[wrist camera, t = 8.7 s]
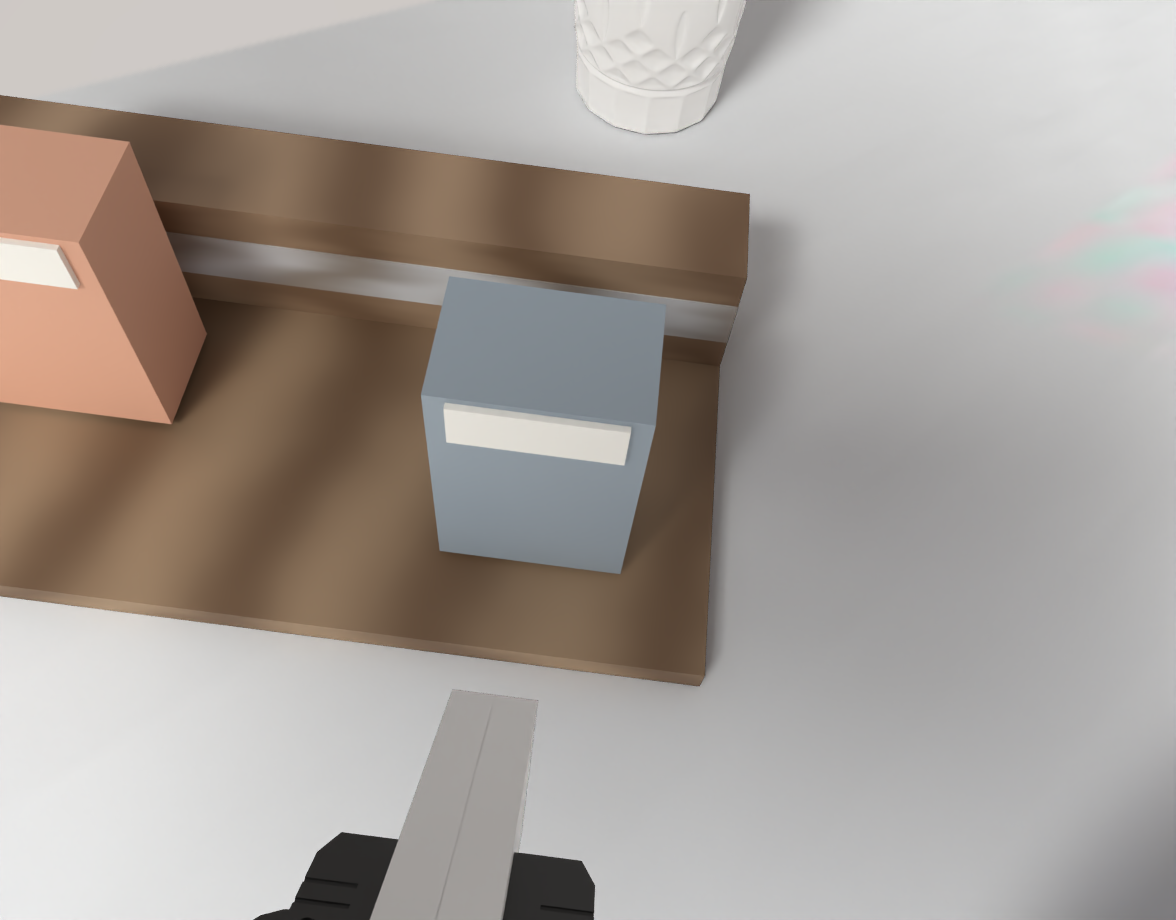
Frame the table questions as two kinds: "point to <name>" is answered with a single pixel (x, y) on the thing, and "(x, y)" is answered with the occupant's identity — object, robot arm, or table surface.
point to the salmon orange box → (89, 282)
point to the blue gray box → (540, 421)
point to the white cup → (653, 59)
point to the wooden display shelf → (370, 403)
